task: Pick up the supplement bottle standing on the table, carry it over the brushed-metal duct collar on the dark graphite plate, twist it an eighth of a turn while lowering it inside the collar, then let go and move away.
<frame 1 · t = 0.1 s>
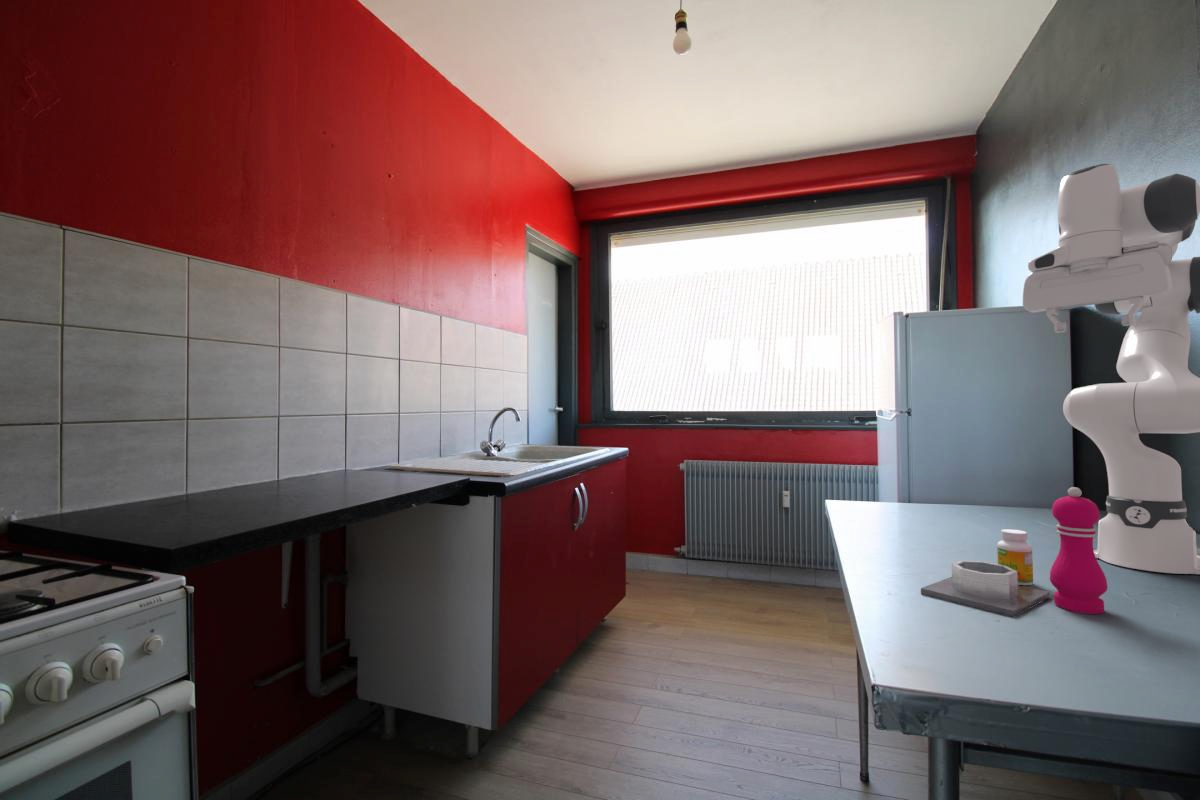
hand: (1093, 328, 99), 48 cm above the table, tool pointing down, fingers open, 8 cm apart
supplement bottle: (1015, 583, 104), on the table
duct collar: (984, 595, 96), on the table
pepper mill: (1078, 608, 90), on the table
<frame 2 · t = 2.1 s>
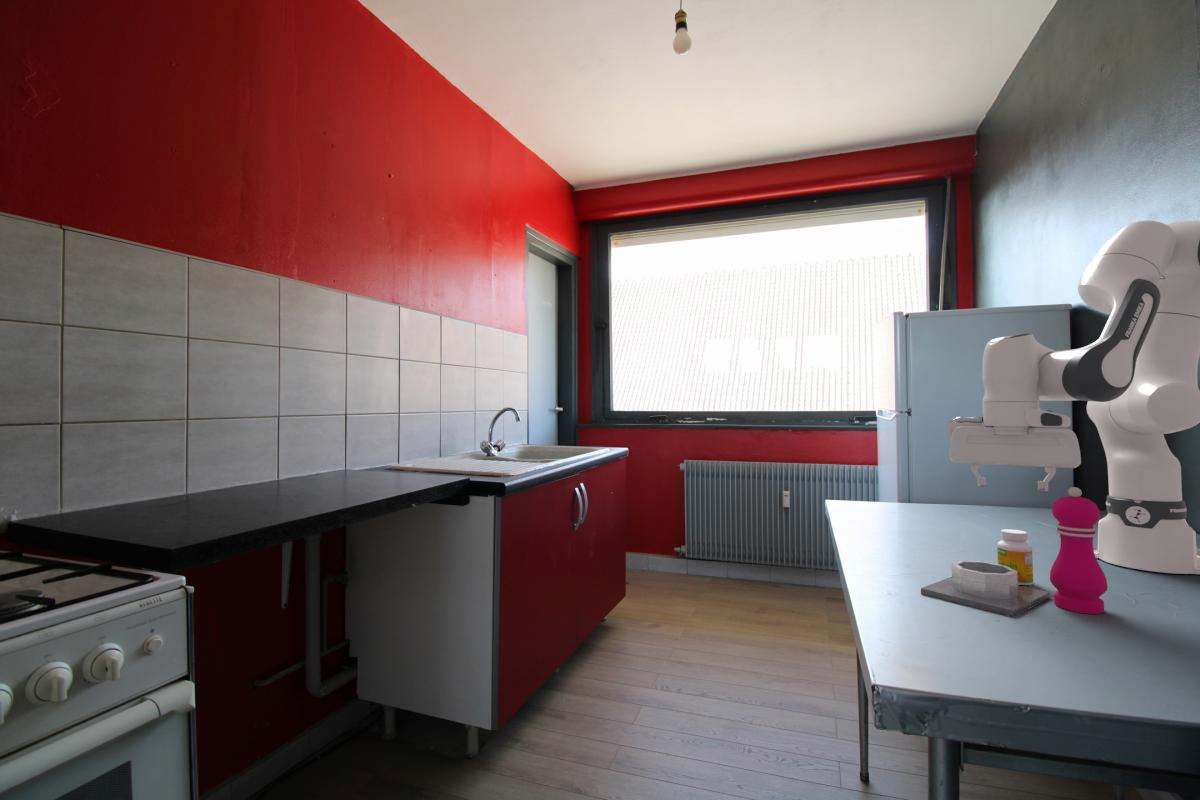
hand: (1011, 488, 105), 18 cm above the table, tool pointing down, fingers open, 8 cm apart
nothing on the table moved.
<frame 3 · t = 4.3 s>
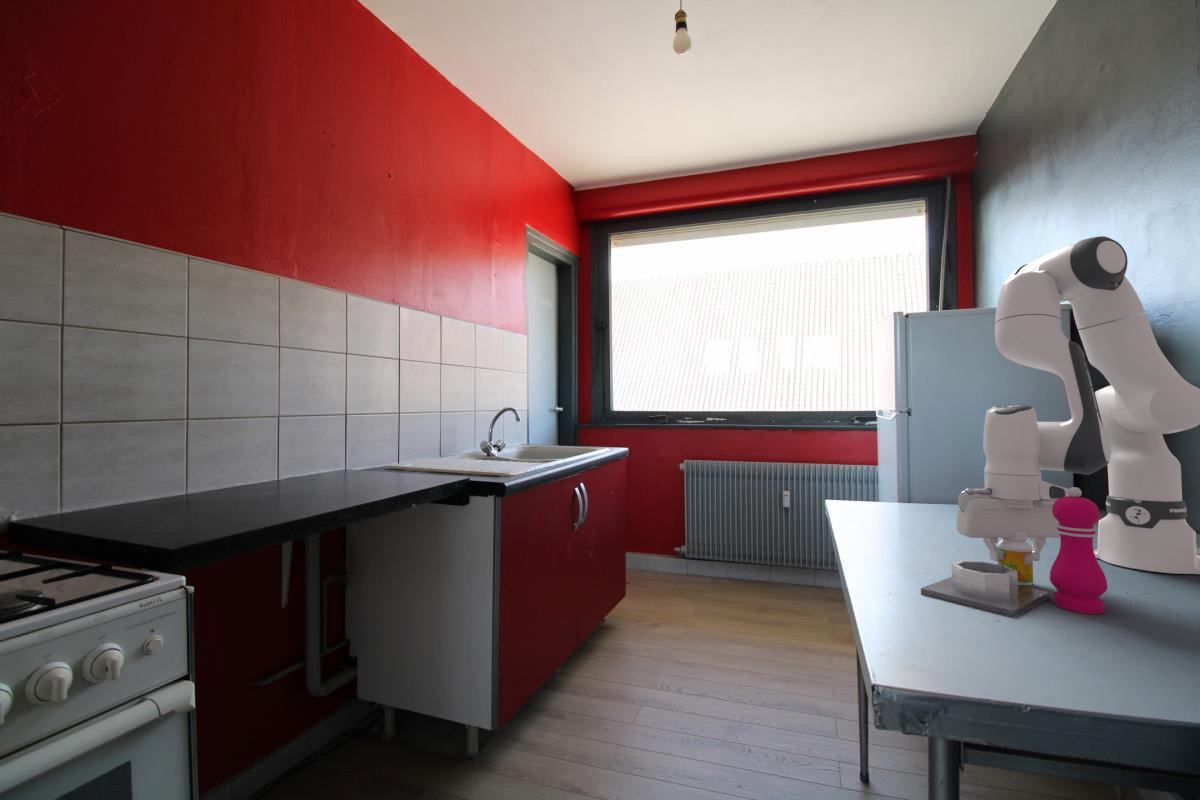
hand: (1014, 560, 104), 4 cm above the table, tool pointing down, fingers closed on supplement bottle, 5 cm apart
supplement bottle: (1015, 582, 104), on the table, touching gripper
everything else where it was.
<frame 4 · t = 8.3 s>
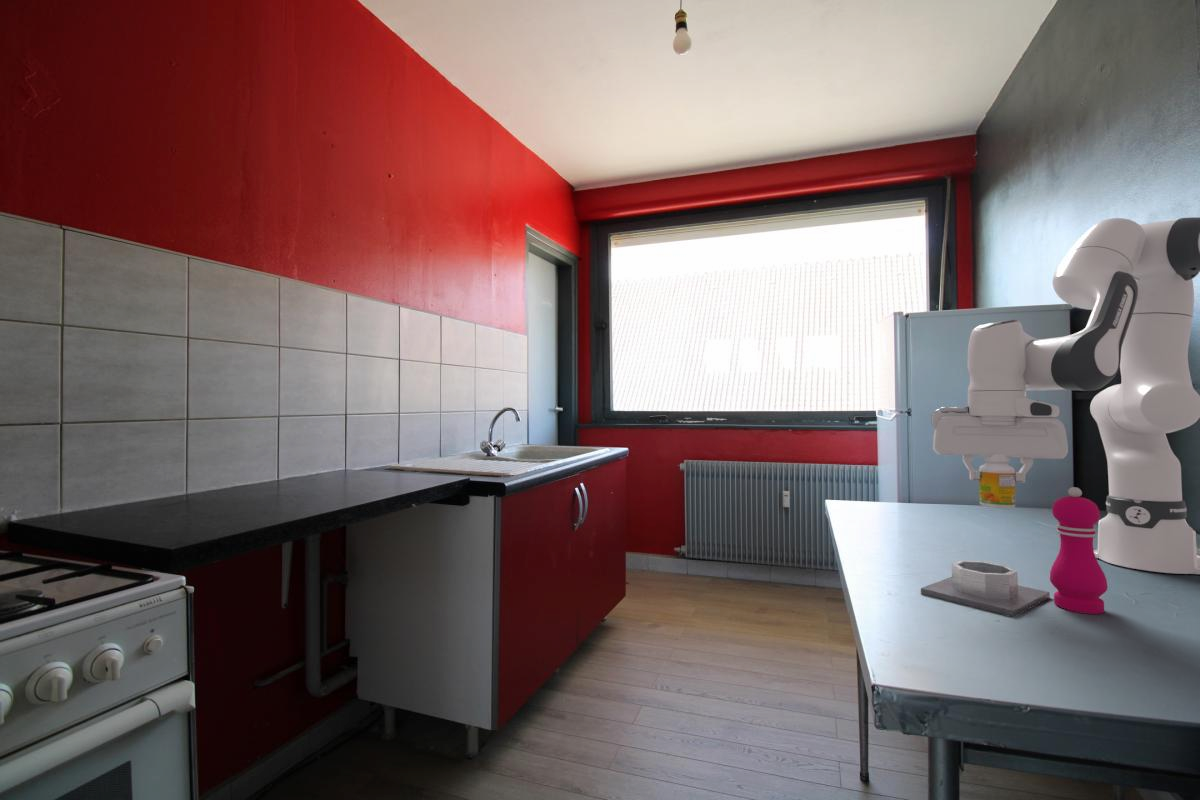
hand: (996, 481, 101), 20 cm above the table, tool pointing down, fingers closed on supplement bottle, 5 cm apart
supplement bottle: (997, 507, 101), point 15 cm above the table, touching gripper
everything else where it was.
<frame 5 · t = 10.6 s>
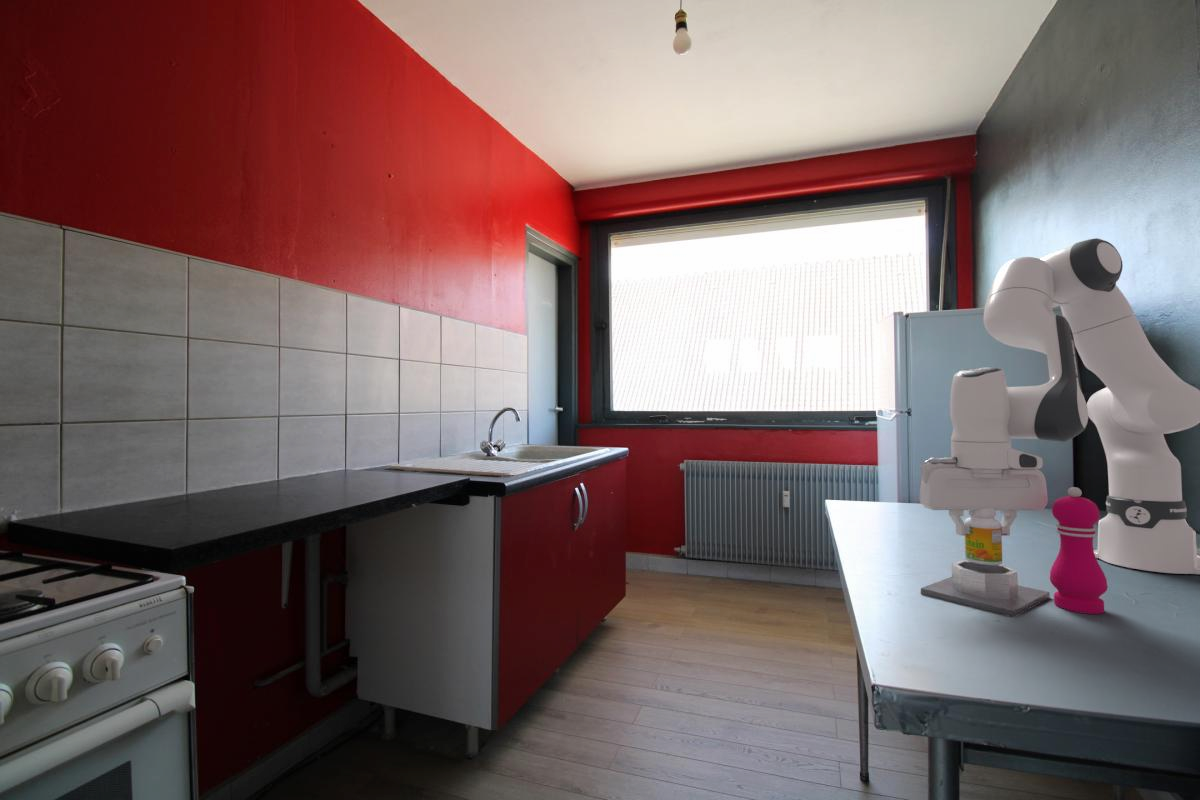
hand: (982, 535, 97), 11 cm above the table, tool pointing down, fingers closed on supplement bottle, 5 cm apart
supplement bottle: (983, 563, 97), point 6 cm above the table, touching gripper
everything else where it was.
when the fingers open (7 cm above the table, at t = 12.6 s): supplement bottle stays where it is, resting on duct collar.
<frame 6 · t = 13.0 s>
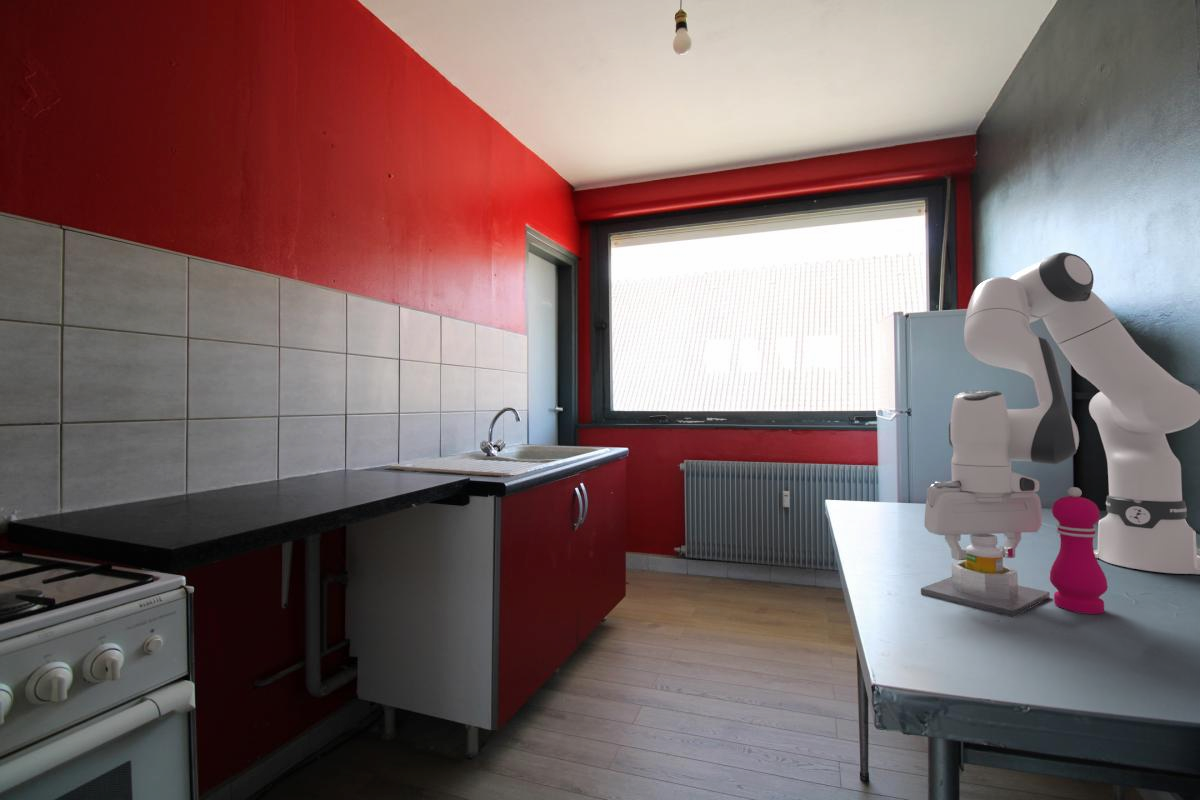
hand: (983, 558, 97), 7 cm above the table, tool pointing down, fingers open, 8 cm apart
supplement bottle: (984, 591, 96), point 1 cm above the table, touching duct collar
everything else where it was.
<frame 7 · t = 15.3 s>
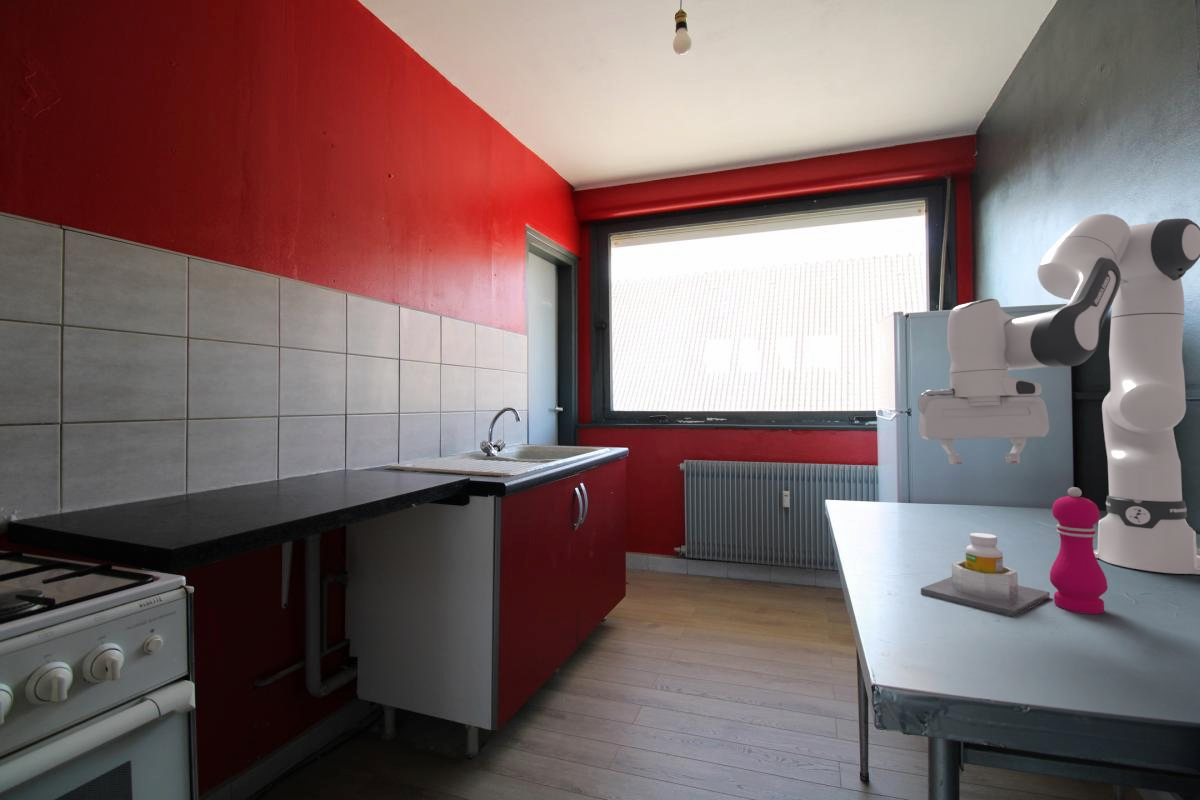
hand: (983, 463, 99), 23 cm above the table, tool pointing down, fingers open, 8 cm apart
nothing on the table moved.
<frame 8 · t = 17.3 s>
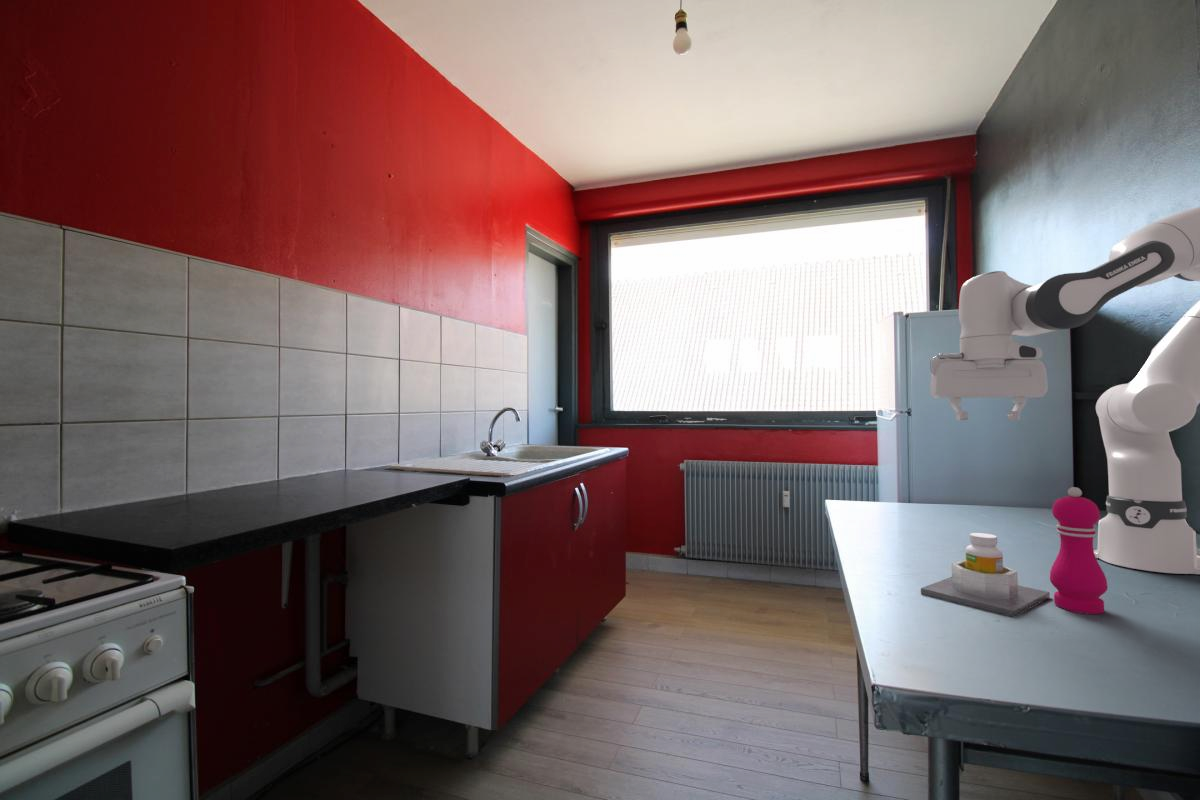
hand: (987, 420, 110), 31 cm above the table, tool pointing down, fingers open, 8 cm apart
nothing on the table moved.
at the end: supplement bottle 0.1 cm off-centre on the duct collar, point 0.8 cm above the duct collar's base; supplement bottle tilted 0°; the gripper is holding nothing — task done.
